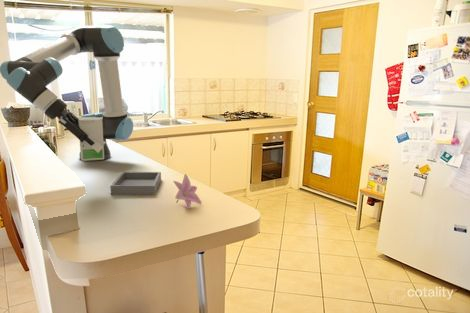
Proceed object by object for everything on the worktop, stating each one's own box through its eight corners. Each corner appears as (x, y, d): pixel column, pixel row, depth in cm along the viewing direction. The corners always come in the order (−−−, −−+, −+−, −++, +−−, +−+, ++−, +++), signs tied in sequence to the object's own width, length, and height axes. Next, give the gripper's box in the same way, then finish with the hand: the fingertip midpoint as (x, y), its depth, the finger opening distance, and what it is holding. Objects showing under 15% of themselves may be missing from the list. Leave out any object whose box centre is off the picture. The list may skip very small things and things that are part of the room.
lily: (169, 215, 113) (182, 193, 109) (159, 192, 120) (170, 171, 117) (198, 217, 120) (211, 197, 117) (187, 195, 128) (198, 176, 125)
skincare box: (81, 161, 126) (77, 119, 122) (80, 157, 132) (77, 117, 128) (105, 159, 129) (102, 118, 125) (103, 155, 135) (100, 116, 131)
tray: (122, 179, 144) (122, 171, 143) (161, 179, 145) (160, 172, 144) (111, 194, 126) (110, 185, 126) (154, 194, 128) (154, 185, 127)
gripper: (50, 109, 132) (98, 148, 140) (35, 116, 113) (91, 161, 121) (64, 95, 132) (111, 135, 140) (51, 100, 113) (106, 146, 121)
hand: (102, 147), depth 130 cm, fingers closed on skincare box, 7 cm apart
